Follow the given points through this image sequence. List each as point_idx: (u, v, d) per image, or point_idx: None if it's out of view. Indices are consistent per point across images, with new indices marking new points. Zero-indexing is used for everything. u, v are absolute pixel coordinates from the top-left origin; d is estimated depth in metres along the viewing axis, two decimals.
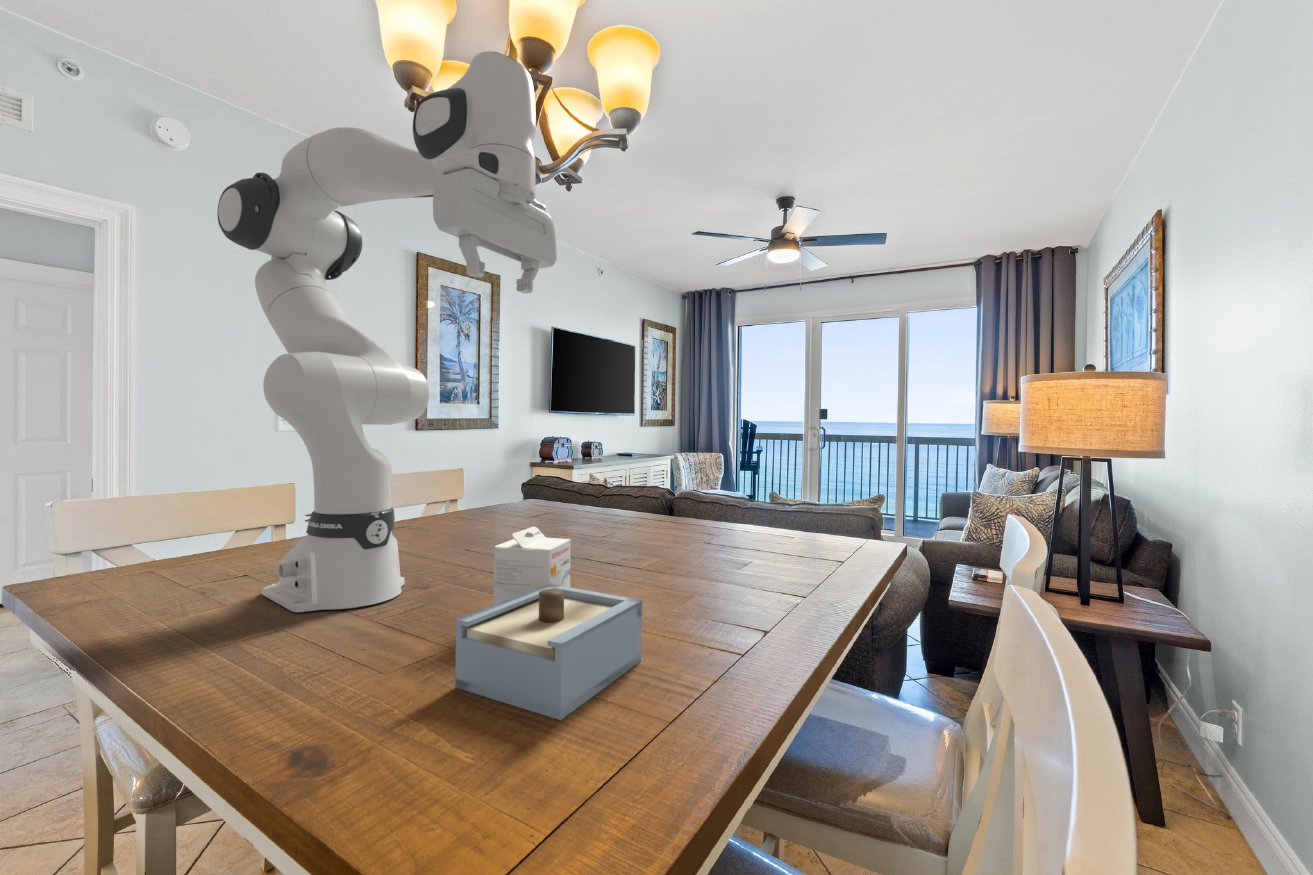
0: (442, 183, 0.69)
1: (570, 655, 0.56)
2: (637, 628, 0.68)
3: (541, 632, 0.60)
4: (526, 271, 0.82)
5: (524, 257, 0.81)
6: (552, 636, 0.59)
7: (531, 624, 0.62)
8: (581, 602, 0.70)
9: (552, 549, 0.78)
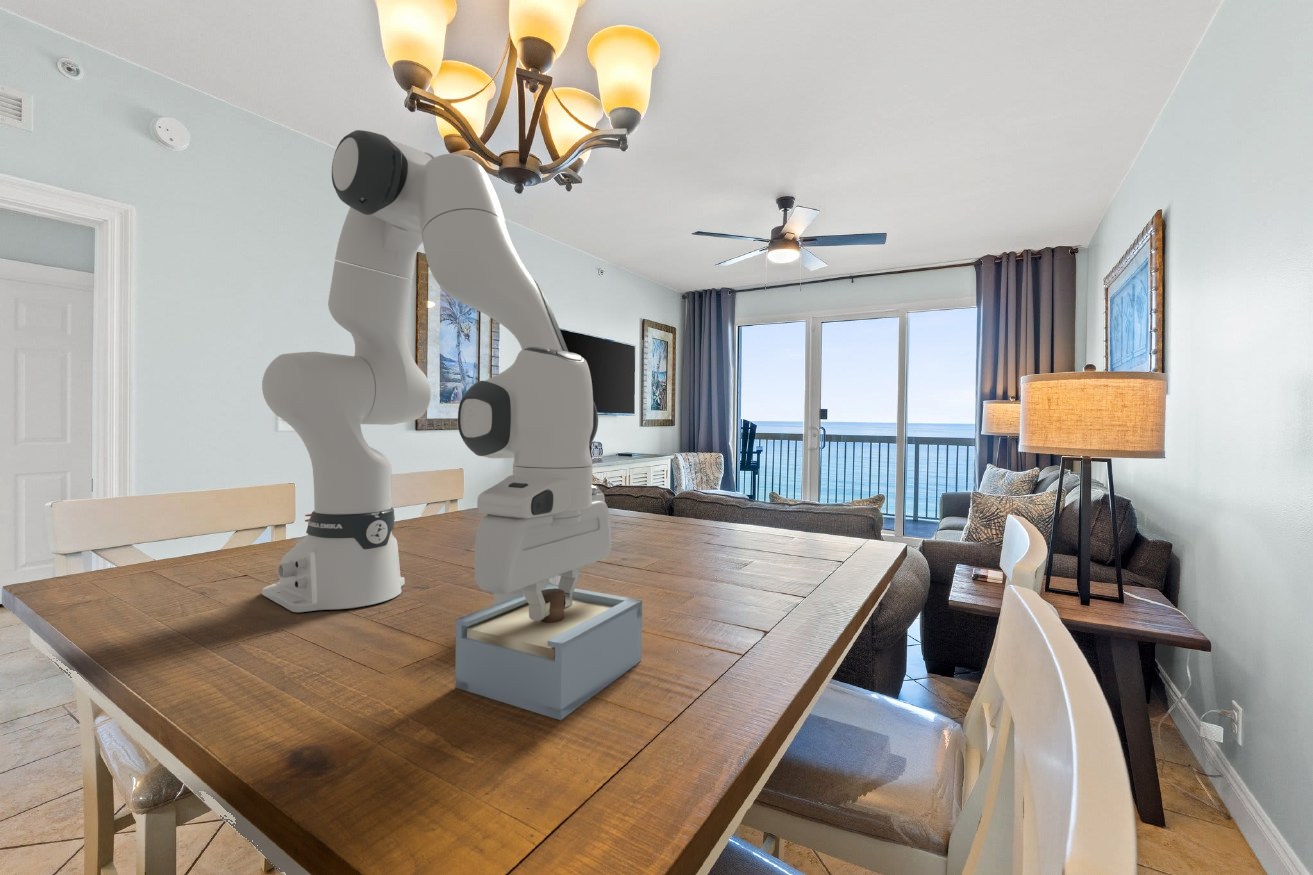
0: (486, 537, 0.56)
1: (570, 655, 0.56)
2: (637, 628, 0.68)
3: (541, 632, 0.60)
4: (563, 578, 0.67)
5: None
6: (552, 636, 0.59)
7: (531, 624, 0.62)
8: (581, 602, 0.70)
9: None
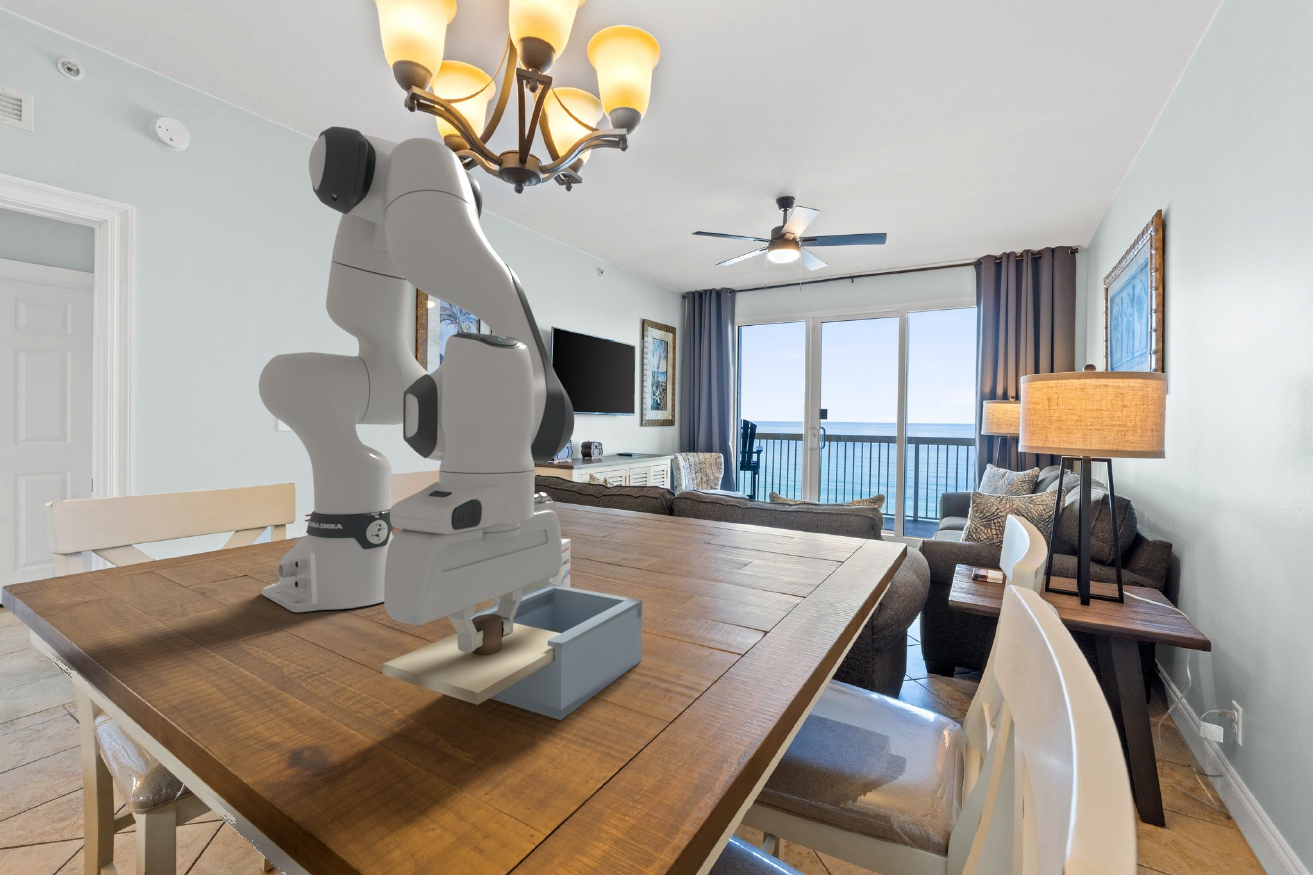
0: (398, 556, 0.47)
1: (570, 655, 0.56)
2: (637, 628, 0.68)
3: (469, 668, 0.51)
4: (504, 600, 0.58)
5: None
6: (481, 674, 0.50)
7: (460, 658, 0.53)
8: (527, 627, 0.61)
9: None
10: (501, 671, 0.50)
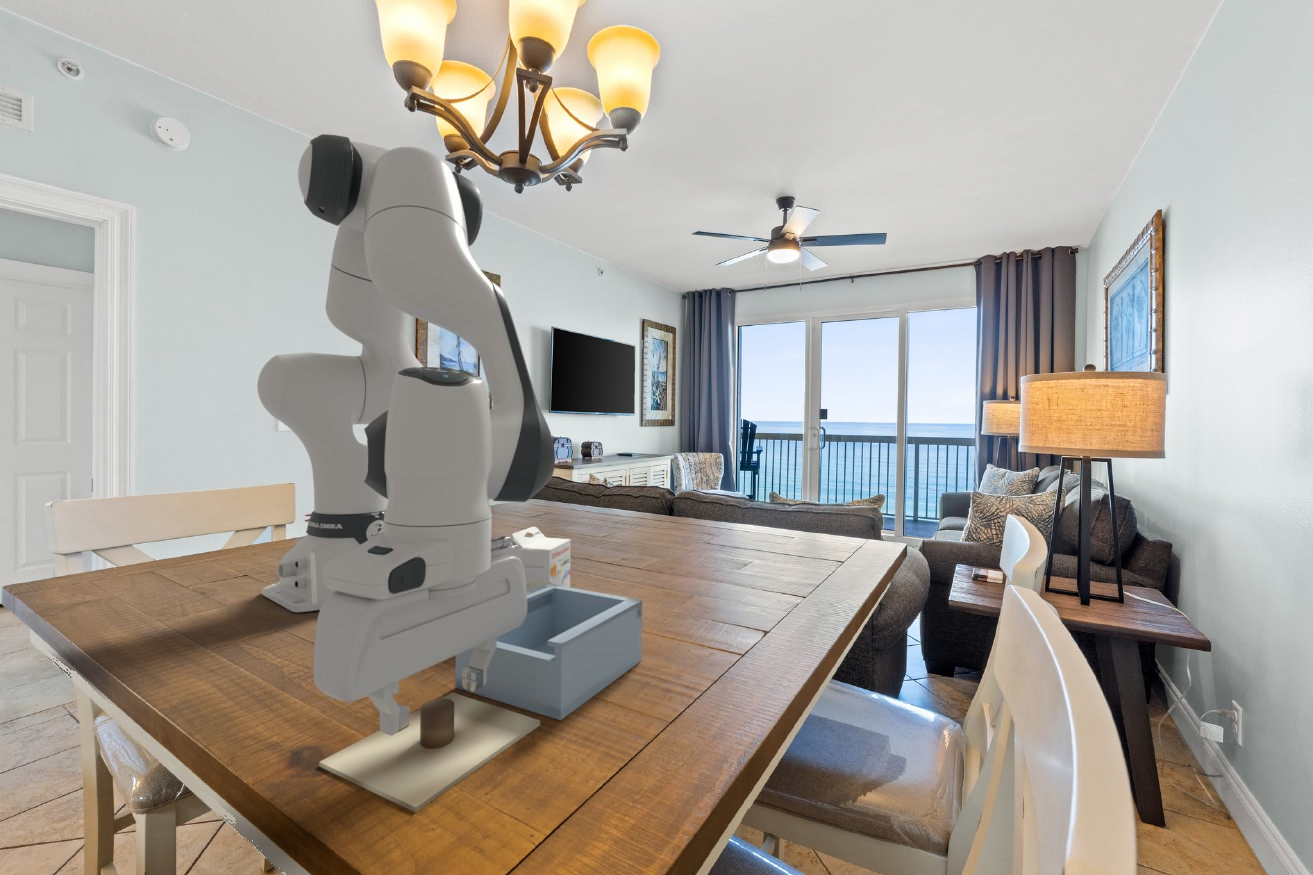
0: (328, 624, 0.42)
1: (570, 655, 0.56)
2: (637, 628, 0.68)
3: (413, 769, 0.46)
4: (477, 650, 0.55)
5: None
6: (424, 778, 0.45)
7: (406, 753, 0.48)
8: (487, 706, 0.56)
9: (552, 549, 0.78)
10: (448, 774, 0.45)
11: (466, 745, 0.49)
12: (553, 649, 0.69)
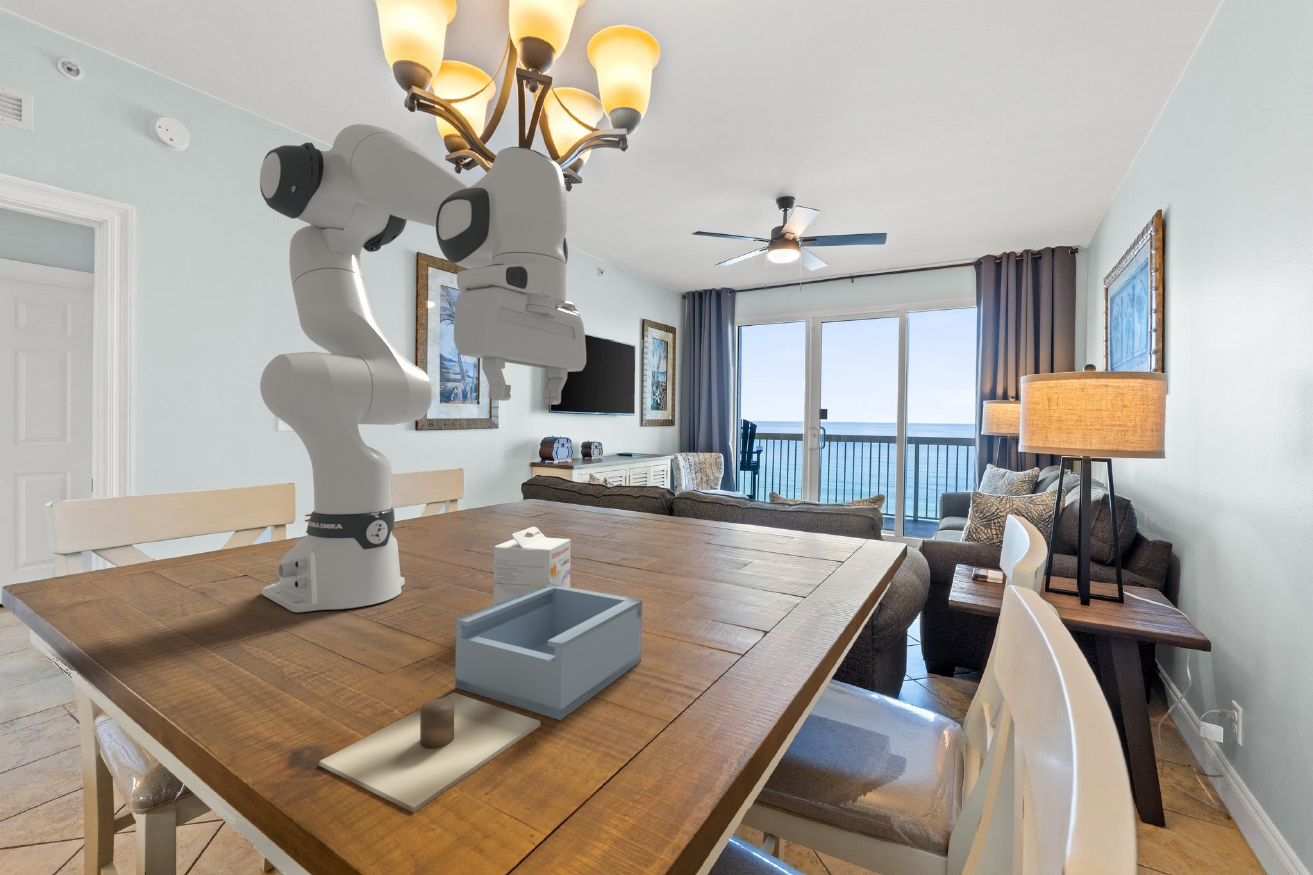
0: (465, 303, 0.61)
1: (570, 655, 0.56)
2: (637, 628, 0.68)
3: (412, 769, 0.46)
4: (553, 380, 0.74)
5: None
6: (423, 778, 0.45)
7: (406, 753, 0.48)
8: (488, 706, 0.56)
9: (552, 549, 0.78)
10: (447, 774, 0.45)
11: (466, 745, 0.49)
12: (553, 649, 0.69)
